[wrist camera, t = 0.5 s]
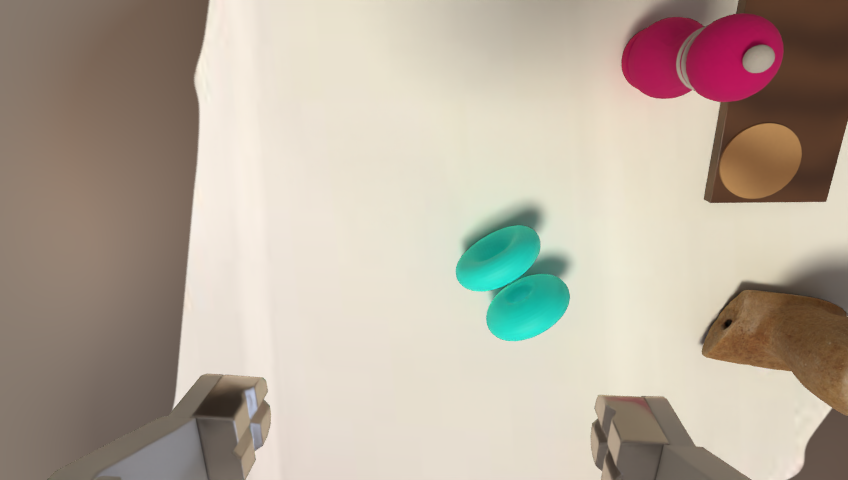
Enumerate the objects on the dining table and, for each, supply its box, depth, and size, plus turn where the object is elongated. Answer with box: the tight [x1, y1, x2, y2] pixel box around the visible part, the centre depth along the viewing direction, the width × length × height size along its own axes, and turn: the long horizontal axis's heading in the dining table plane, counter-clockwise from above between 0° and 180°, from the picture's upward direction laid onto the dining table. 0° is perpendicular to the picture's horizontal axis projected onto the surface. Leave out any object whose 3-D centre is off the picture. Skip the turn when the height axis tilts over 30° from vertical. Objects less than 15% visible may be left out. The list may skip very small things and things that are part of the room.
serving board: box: [704, 0, 848, 203], centre depth 49 cm, size 22×12×2 cm, turn 2°
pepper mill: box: [622, 13, 784, 102], centre depth 41 cm, size 7×7×20 cm
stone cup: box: [702, 290, 848, 416], centre depth 52 cm, size 15×12×15 cm
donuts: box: [456, 225, 570, 341], centre depth 54 cm, size 10×10×10 cm
